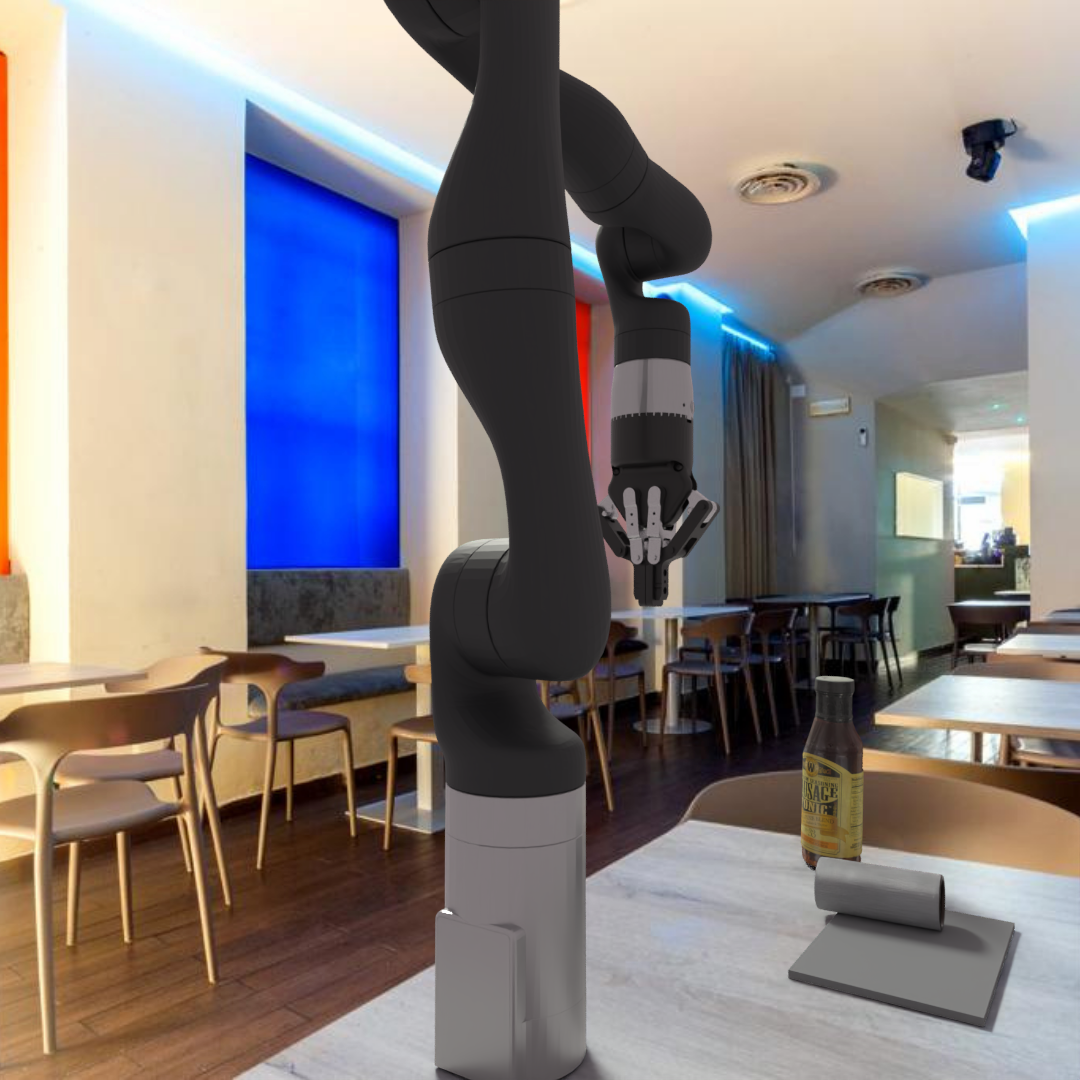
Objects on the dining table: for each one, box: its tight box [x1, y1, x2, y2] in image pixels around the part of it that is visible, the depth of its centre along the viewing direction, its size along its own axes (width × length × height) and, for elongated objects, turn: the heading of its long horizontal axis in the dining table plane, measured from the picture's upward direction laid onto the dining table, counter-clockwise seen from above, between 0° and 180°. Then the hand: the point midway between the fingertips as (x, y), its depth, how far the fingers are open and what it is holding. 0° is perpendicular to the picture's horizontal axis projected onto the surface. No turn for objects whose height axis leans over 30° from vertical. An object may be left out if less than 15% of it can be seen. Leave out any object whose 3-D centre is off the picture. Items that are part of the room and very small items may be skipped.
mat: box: [787, 909, 1015, 1028], centre depth 73 cm, size 20×14×1 cm
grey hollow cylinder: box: [813, 857, 946, 931], centre depth 78 cm, size 4×4×10 cm
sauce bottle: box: [800, 675, 865, 868], centre depth 95 cm, size 7×6×20 cm
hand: (651, 606), depth 81 cm, fingers closed
